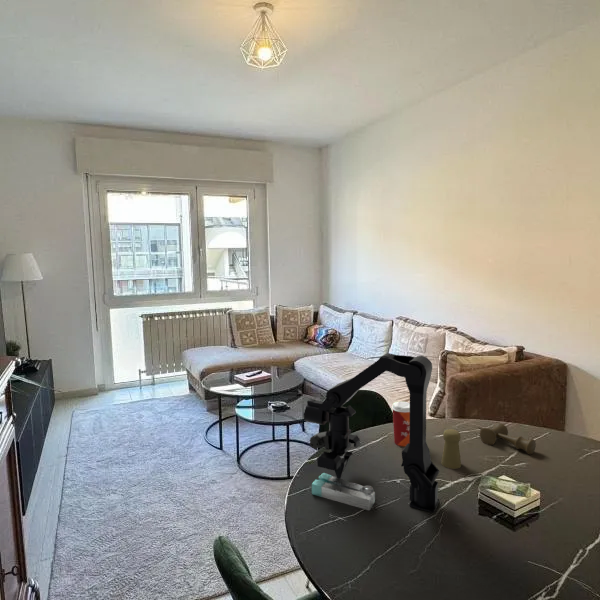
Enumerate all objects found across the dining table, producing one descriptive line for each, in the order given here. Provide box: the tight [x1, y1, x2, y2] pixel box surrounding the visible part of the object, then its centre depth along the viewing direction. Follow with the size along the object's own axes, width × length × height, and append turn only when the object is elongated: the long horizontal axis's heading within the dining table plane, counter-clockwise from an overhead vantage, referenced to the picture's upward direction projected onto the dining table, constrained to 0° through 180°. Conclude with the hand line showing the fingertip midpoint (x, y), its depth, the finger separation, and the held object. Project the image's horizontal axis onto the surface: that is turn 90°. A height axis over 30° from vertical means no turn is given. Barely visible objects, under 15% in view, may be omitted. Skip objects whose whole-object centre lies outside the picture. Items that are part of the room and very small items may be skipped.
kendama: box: [477, 422, 537, 455], centre depth 154 cm, size 6×10×20 cm
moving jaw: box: [318, 472, 364, 492], centre depth 126 cm, size 13×3×3 cm, turn 56°
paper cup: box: [391, 401, 410, 447], centre depth 156 cm, size 8×8×14 cm
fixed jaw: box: [311, 478, 376, 511], centre depth 123 cm, size 17×6×4 cm, turn 61°
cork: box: [440, 428, 462, 470], centre depth 140 cm, size 6×6×11 cm
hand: (339, 477), depth 132 cm, fingers closed
